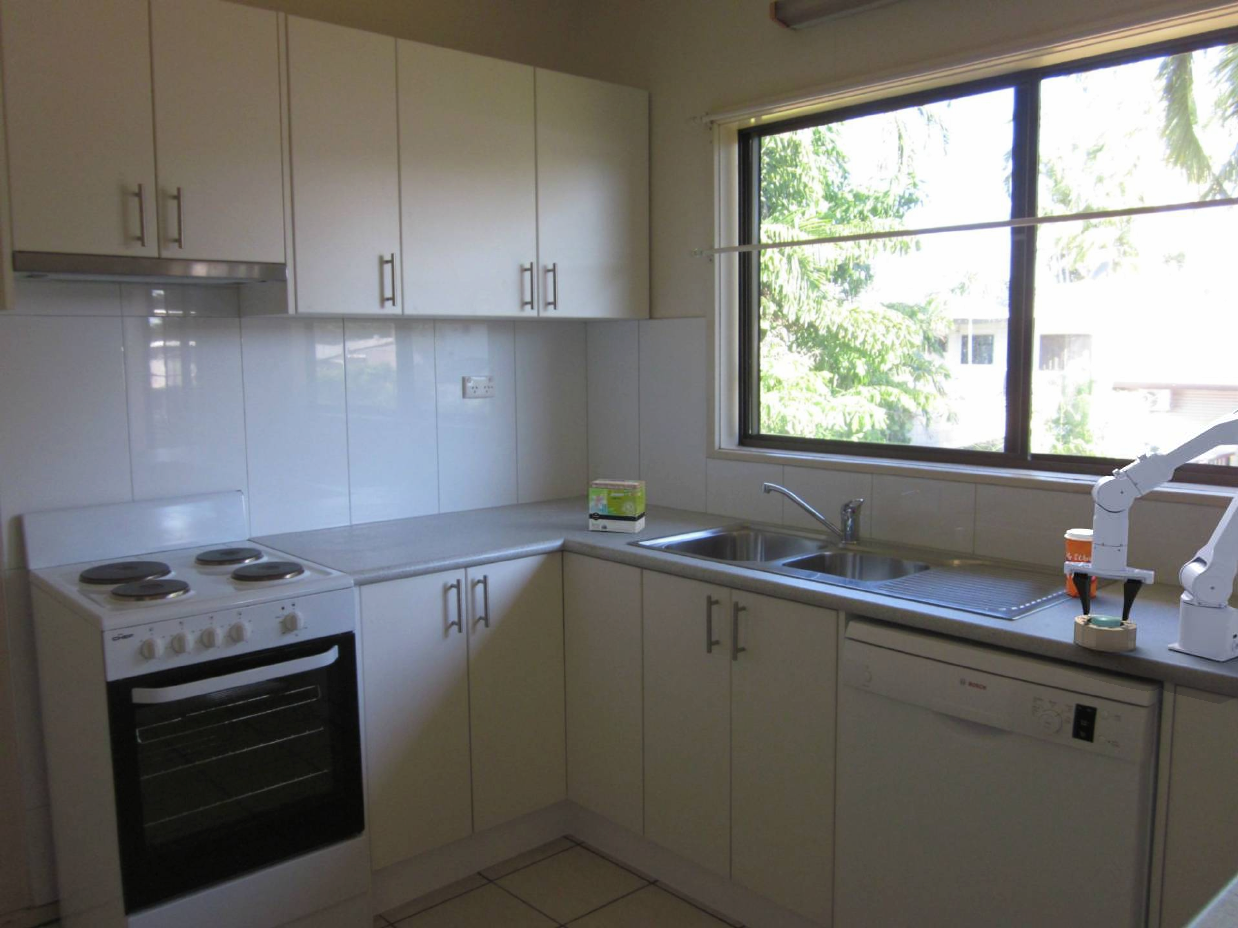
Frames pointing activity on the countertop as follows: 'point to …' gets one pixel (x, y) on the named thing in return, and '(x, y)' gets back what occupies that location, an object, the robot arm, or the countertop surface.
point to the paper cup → (1079, 555)
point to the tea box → (617, 505)
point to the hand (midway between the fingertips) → (1105, 616)
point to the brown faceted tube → (1105, 635)
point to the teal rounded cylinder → (1105, 621)
